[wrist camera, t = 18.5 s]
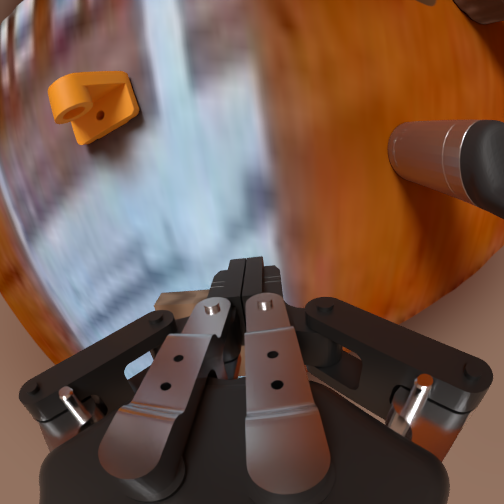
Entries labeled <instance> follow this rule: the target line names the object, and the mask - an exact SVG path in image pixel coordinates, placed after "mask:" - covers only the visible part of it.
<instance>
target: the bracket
mask: <svg viewBox="0 0 504 504" xmlns="http://www.w3.org/2000/svg"><path fill="white" fill-rule="evenodd" d="M48 95H49V100H50V104H51V108H52V112H53V116H54V120H55V123H57V124H64V123H68V122H71V123H72V127H73V130H74V133H75V137H76V140H77V142H78V144H80V145H84V144H90V143H92V142H93V141H95V140H96V139H100V138H102V137H103V136H105V135H107V134H108V133H110V132H112V131H113V130H115V129H117V128H118V127H120V126H122V125H124V124H125V123H127V122H128V120H130V119H132V118H133V117H135V116H137V114H138V112H139V107H138V104H137V101H136V98H135V95H134V92H133V89H132V86H131V83H130V80H129V77H128V74H127V73H125V72H123V71H99V72H80V73H72V74H68V75H66V76H63V77H61V78H59V79H58V80H56V81H55V82H54V83H53V84H52V85H51V86H50V87H49V89H48Z"/></svg>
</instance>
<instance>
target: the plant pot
mask: <svg viewBox="0 0 504 504" xmlns="http://www.w3.org/2000/svg"><path fill="white" fill-rule="evenodd" d="M454 2H455V3H456V4H457V6H458V7H459V8H460V9H461V10H462V11H464V12H466V13H467V14H468V15H469V17H470V18H471V19H472V20H474V21H476V22H478V23H480V24H489V23H494V22H499V21H504V0H454Z"/></svg>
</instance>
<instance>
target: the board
mask: <svg viewBox="0 0 504 504" xmlns="http://www.w3.org/2000/svg"><path fill="white" fill-rule="evenodd" d="M208 293H209V290H197V291H184V292H169V293H161V295H160V297H159V298H158V300H157V301H156V303H155V305H154V307H155V310H156V311H157V310H168V311H170V312H172V313H173V315H174V318H175V320H176V319H180V318H185V317H188V316H190V315H191V313H192V311H193V309H194V307H195V306H196V305H197V304H198V303H199V302H201V301H202V300H205V299H207V296H208ZM240 354H241V365H240V370H239V374H238V376H246V374H245V346H241V352H240Z"/></svg>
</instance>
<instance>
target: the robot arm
mask: <svg viewBox="0 0 504 504" xmlns="http://www.w3.org/2000/svg"><path fill="white" fill-rule="evenodd" d="M388 155H389V160H390V163H391V165H392V167H393V169H394V170H395V171H396V173H397V174H398V175H399V176H401V177H402V178H403V179H405V180H408V181H411V182H414V183H417V184H419V185H422V186H425V187H428V188H431V189H433V190H436V191H439V192H442V193H444V194H447V195H450V196H452V197H455V198H457V199H460V200H462V201H465V202H467V203H470V204H472V205H475V206H477V207H479V208H481V209H484V210H486V211H488V212H490V213H492V214H494V215H496V216H498V217H500V218H502V219H504V123H503V122H500V121H496V120H440V121H418V122H407V123H403V124H401V125H399V126H398V127H397V128H395V130H394V131H393V132H392V134H391V136H390V139H389V143H388ZM241 346H245V374H246V377H242V378H238V374H239V370H240V365H241V354H240V352H241ZM343 347H345V348H347V349H349V350H351V351H353V352H355V353H356V354H357V355H358V356H359V357H360V358H361V360H362V361H361V360H359V359H358V358H356V357H354V356H352V355H350V354H348V353H347V352H345V351H343V350H342V348H343ZM148 351H150V353H151V355H152V357H153V360H154V361H153V363H152V364H151V365H150V366H149V367H147V368H146V369H144V370H143V371H141V372H140V373H138V374H136V375H135V376H133V377H132V378H130V379H128V380H127V379H126V377H125V375H124V370H125V367H126V366H127V365H128V364H129V363H131V362H132V361H134V360H136V359H137V358H139V357H140V356H142V355H144V354H145V353H147V352H148ZM304 365H306V367H307V370H308V371H309V372H310V373H311V374H312V375H314V376H315V377H317V378H319V379H320V380H321V381H323V382H325V383H326V384H328V385H329V386H331V387H332V388H334V389H335V390H337V391H338V392H340V393H341V394H343V395H345V396H346V397H348V398H350V399H351V400H353V401H354V402H356V403H358V404H359V405H361V406H362V407H364V408H366V409H367V410H369V411H371V412H372V413H374V414H376V415H378V416H379V417H381V418H383V419H384V420H385V424H383V423H381V422H380V421H378V420H377V419H375V418H373V417H372V416H371V415H369V414H367V413H366V412H364V411H363V410H361V409H360V408H358V407H357V406H355V405H354V404H352V403H351V402H349V401H348V400H347V399H345V398H344V397H342V396H341V395H339V394H338V393H336V392H335V391H333V390H332V389H330V388H328V387H326V386H324V385H322V384H319V383H317V382H313V381H309V380H308V377H307V373H306V369H305V366H304ZM492 381H493V373H492V370H491V368H490V367H489V365H488V364H487V363H486V362H485V361H483V360H481V359H479V358H477V357H475V356H472V355H470V354H467V353H465V352H462V351H460V350H458V349H455V348H453V347H450V346H448V345H445V344H443V343H440V342H438V341H436V340H433V339H431V338H429V337H426V336H424V335H421V334H419V333H416V332H414V331H412V330H409V329H407V328H405V327H402V326H400V325H397V324H395V323H393V322H390V321H388V320H386V319H383V318H381V317H379V316H376V315H374V314H371V313H369V312H367V311H364V310H362V309H360V308H357V307H355V306H353V305H350V304H348V303H346V302H343V301H341V300H339V299H336V298H332V297H320V298H316V299H313V300H311V301H310V302H308V303H307V304H306V306H305V308H296V307H293V306H290V305H288V304H287V303H286V302H285V301H284V300H283V293H282V285H281V276H280V270H279V269H278V268H277V267H276V266H275V265H273V266H264V263H263V257H252V258H247V260H246V258H242V259H233V260H230V263H229V267H228V270H223V271H220V272H218V273H217V274H216V275H215V276H214V279H213V281H212V284H211V288H210V290H209V293H208V296H207V299H205V300H202V301H201V302H199V303H198V304H197V305H196V306H195V307H194V309H193V311H192V313H191V315H190V316H188V317H185V318H180V319H176V320H175V318H174V315H173V313H172V312H170V311H168V310H157V311H153V312H150V313H148V314H146V315H144V316H143V317H141V318H139V319H137V320H135V321H134V322H132V323H130V324H128V325H127V326H125V327H123V328H121V329H119V330H118V331H116V332H114V333H112V334H111V335H109V336H107V337H105V338H103V339H102V340H100V341H98V342H96V343H94V344H93V345H91V346H89V347H87V348H86V349H84V350H82V351H80V352H78V353H77V354H75V355H73V356H71V357H69V358H68V359H66V360H64V361H62V362H60V363H59V364H57V365H55V366H53V367H52V368H50V369H48V370H46V371H45V372H43V373H41V374H39V375H37V376H35V377H34V378H32V379H30V380H28V381H27V382H26V383H25V384H24V385H23V386H22V388H21V390H20V392H19V399H20V401H21V402H22V404H23V405H24V406H25V407H26V408H27V410H28V411H29V412H30V413H31V415H32V416H33V418H34V420H35V421H36V422H37V423H38V424H39V425H40V428H41V431H42V434H43V436H44V439H45V441H46V444H47V446H48V449H49V451H50V453H49V454H48V455H47V457H46V458H45V459H44V461H43V463H42V465H41V469H40V474H39V485H40V503H39V504H447V501H448V497H449V490H450V489H449V488H450V484H449V477H448V474H447V471H446V469H445V467H444V465H443V464H442V461H443V459H444V458H445V456H446V455H447V453H448V452H449V450H450V448H451V447H452V445H453V443H454V441H455V440H456V438H457V436H458V434H459V433H460V431H461V430H462V429H463V427H464V426H465V424H466V423H467V422H468V420H469V419H470V417H471V416H472V414H473V413H474V411H475V410H476V408H477V407H478V405H479V403H480V402H481V400H482V399H483V397H484V395H485V394H486V392H487V390H488V389H489V387H490V385H491V383H492Z"/></svg>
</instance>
